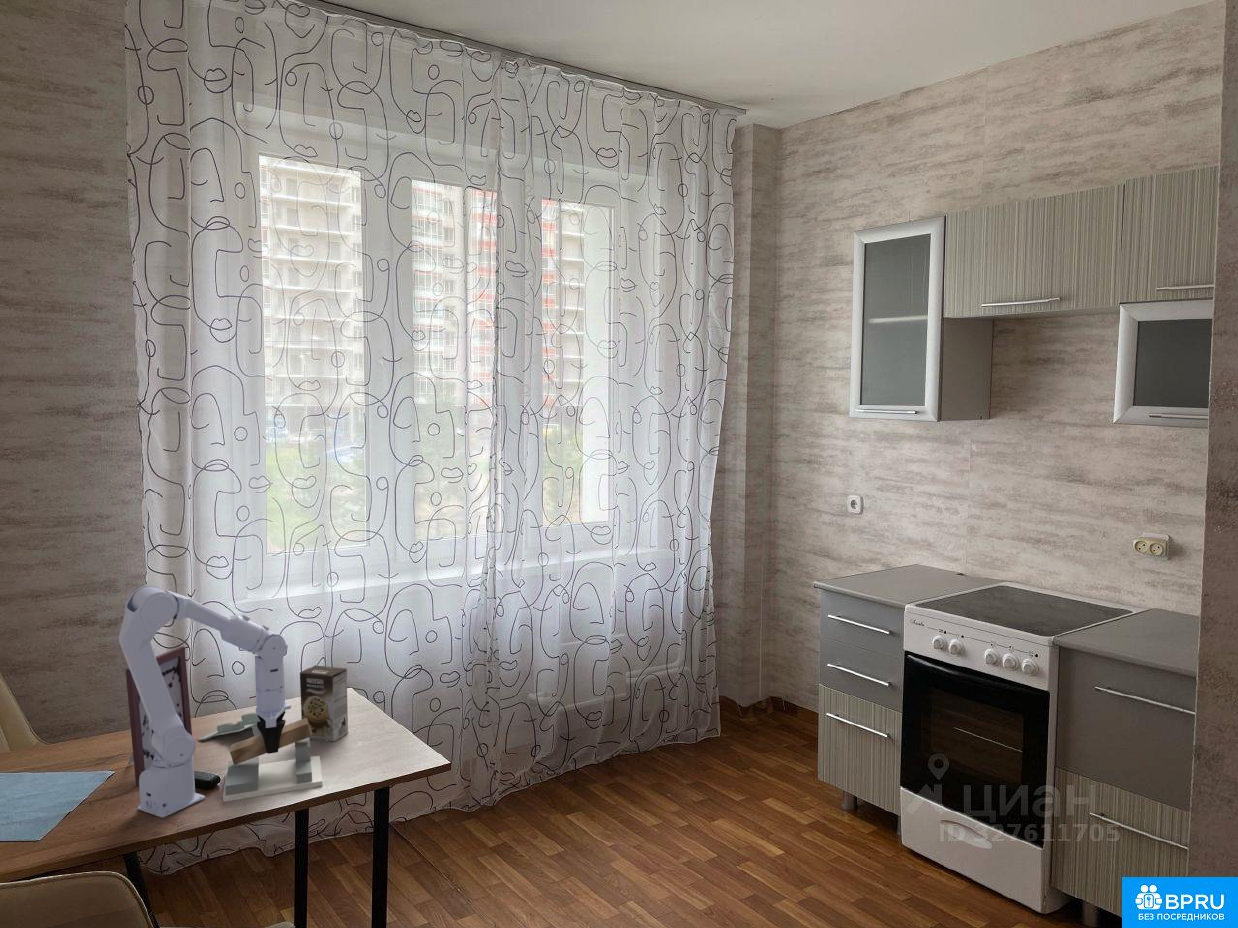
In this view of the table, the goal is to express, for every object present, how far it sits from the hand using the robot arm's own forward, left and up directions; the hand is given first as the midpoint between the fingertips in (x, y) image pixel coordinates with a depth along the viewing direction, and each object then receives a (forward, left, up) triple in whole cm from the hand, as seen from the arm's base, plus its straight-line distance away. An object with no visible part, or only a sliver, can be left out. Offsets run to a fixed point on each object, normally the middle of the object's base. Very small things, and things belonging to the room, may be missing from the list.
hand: (272, 748), depth 189 cm
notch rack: (-2, -3, -6) cm, 6 cm away
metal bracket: (+12, +26, -6) cm, 29 cm away
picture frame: (-11, +27, -6) cm, 30 cm away
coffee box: (+20, +6, -6) cm, 22 cm away
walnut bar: (0, 0, 0) cm, 0 cm away
